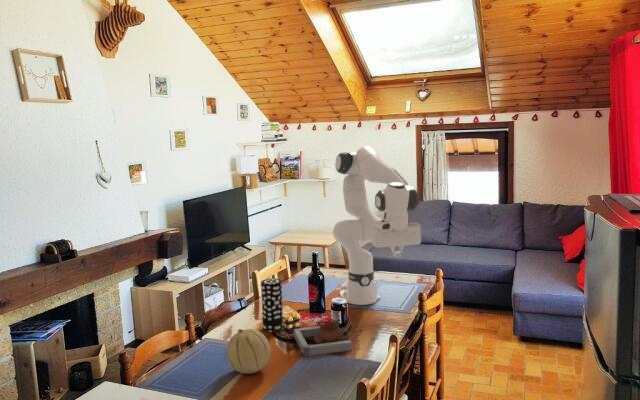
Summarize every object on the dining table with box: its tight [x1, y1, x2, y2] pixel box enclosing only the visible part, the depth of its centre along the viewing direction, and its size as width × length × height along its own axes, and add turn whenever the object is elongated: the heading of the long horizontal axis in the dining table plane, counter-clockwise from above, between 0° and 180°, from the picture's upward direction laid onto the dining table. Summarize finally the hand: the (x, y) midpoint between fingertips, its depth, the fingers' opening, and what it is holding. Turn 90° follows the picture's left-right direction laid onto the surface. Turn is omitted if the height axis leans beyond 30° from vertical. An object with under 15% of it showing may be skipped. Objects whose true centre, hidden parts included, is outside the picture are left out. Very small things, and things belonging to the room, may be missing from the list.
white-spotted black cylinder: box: [260, 278, 284, 333], centre depth 216 cm, size 8×8×20 cm
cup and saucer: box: [313, 323, 346, 344], centre depth 202 cm, size 12×12×6 cm
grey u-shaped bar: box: [293, 323, 353, 357], centre depth 201 cm, size 19×18×3 cm
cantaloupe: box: [226, 328, 272, 375], centre depth 179 cm, size 15×15×15 cm
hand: (396, 256), depth 214 cm, fingers closed
